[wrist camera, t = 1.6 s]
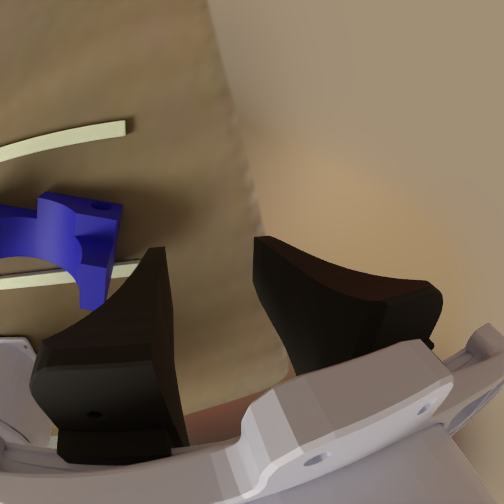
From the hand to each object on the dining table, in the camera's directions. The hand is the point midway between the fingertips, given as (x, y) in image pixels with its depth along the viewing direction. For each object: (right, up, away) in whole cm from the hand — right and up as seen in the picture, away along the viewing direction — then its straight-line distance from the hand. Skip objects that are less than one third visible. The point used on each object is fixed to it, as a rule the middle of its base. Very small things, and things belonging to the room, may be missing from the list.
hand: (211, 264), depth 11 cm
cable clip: (-13, +3, +6) cm, 15 cm away
